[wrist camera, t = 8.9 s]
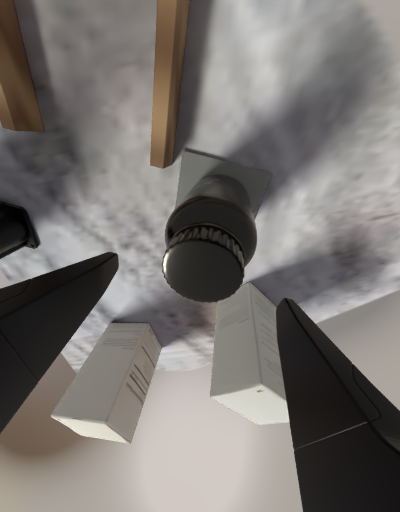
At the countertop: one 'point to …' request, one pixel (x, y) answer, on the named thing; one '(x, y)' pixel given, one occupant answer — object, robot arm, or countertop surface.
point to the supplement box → (112, 384)
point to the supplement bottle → (210, 240)
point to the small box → (248, 358)
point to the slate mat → (203, 166)
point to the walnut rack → (165, 77)
